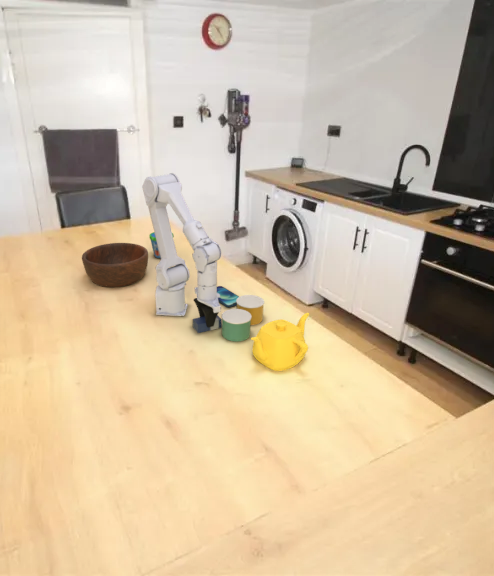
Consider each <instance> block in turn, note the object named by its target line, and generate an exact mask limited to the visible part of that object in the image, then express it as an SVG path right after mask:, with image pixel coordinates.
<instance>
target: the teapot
mask: <svg viewBox="0 0 494 576" xmlns="http://www.w3.org/2000/svg"><path fill="white" fill-rule="evenodd" d="M309 316H310V313H309V312H306V313H304V314H303V315H301V317H300V318H299V320H298V321H297V324H295V323H293V322H290V321H288V320H286V319H281V318H280V319H275V320H271V321H270V322H267V323H265V324H264V325H262V326H261V327H260V328H259V330H258V332H257V334H256V336H252V337H251V338H250V340H251V341H253V344H252V349H251V351H252V355H253V356H254V358H255V359H256V361H257V362H259V363H260V364H262V365H263V366H264V367H266V368H268V369H270V370H271V371H275V372H281V371H282V372H283V371H286V370H289V369H291V368H293V367H295V366H297V365H298V364H299V363H300V362H301V361H302V360H303V359H304V358H305V356H306V353H307V352H308V350H309V346H308V344H307V343H306V339H305V328H306V327H305V325H306V321H307V319H308V318H309Z"/></svg>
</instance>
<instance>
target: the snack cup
mask: <svg viewBox="0 0 494 576" xmlns="http://www.w3.org/2000/svg"><path fill="white" fill-rule="evenodd" d="M172 235H173V238H174V237H175V236H174V232H172ZM148 238H149V240H150V244H151V248H152V252H153V256H154V257H155V258H157V259H161V257H160V253H159V249H158V245H157V241H156V237H155V233H154V231H153V232H151V233H149V237H148Z"/></svg>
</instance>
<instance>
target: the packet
mask: <svg viewBox="0 0 494 576" xmlns="http://www.w3.org/2000/svg"><path fill="white" fill-rule="evenodd" d="M192 328H193V329H194V331H195V332H196V333H197V334H201V333H205V332H209V331H213V330H218V329H222V317H220V316H219V314H218V315H217V317H216V320H215V323H214V326H213V327H207V326H206V320H205V316H203V317H200V316H199V317H195V318H194V317H193V318H192Z"/></svg>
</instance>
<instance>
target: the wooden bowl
mask: <svg viewBox="0 0 494 576" xmlns="http://www.w3.org/2000/svg"><path fill="white" fill-rule="evenodd" d="M81 260H82V264H83V269H84V271H85V273H86V275H87V277H88V278H89V280H90V281H91V282H93V283H94V284H95V285H97V286H100V287H103V288H104V287H105V288H121V287H122V288H123V287H127V286H130V285H134V284H136V283H137V282H139V281H141V279H142V278H143V277H144V276H145V274H146V271H147V268H148V264H149V263H148V262H149V251H148V249H147V248H146V247H145V246H143V245H141V244H137V243H131V242H112V243H111V242H110V243H105V244H100V245H97V246H93V247H91V248H89V249H87V250H85V251H84V252H83V254H82V255H81Z"/></svg>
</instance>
